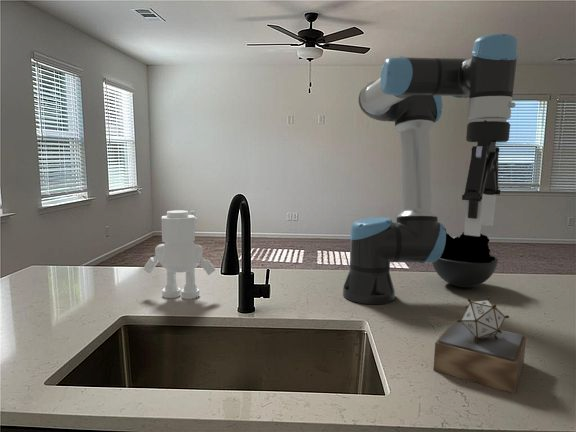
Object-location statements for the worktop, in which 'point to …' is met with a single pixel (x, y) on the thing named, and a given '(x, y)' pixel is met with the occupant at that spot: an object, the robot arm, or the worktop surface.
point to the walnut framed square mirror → (481, 356)
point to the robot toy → (179, 254)
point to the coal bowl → (466, 261)
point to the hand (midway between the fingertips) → (479, 230)
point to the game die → (483, 319)
